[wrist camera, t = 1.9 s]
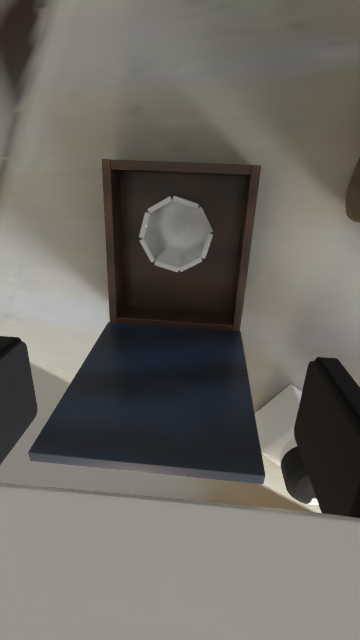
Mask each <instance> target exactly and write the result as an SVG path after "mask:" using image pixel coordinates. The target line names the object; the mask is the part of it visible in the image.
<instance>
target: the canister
mask: <svg viewBox="0 0 360 640" xmlns="http://www.w3.org/2000/svg"><path fill="white" fill-rule="evenodd" d="M346 213H347V216H348V217H349V218H350V219H351V220H353V221H355V222H359V223H360V160H359V162H358V165H357V167H356V170H355V172H354V175H353V177H352V180H351V182H350V185H349V188H348V193H347V198H346Z"/></svg>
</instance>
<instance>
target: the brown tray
mask: <svg viewBox="0 0 360 640" xmlns="http://www.w3.org/2000/svg"><path fill="white" fill-rule="evenodd" d="M260 168H261V166H260V165H234V164H209V163H184V162H159V161H133V160H108V159H102V171H103V191H104V211H105V231H106V251H107V272H108V292H109V312H110V322H116V323H130V324H144V325H158V326H172V327H186V328H200V329H214V330H228V331H240V326H241V318H242V310H243V302H244V294H245V286H246V278H247V271H248V263H249V255H250V247H251V239H252V231H253V223H254V216H255V208H256V200H257V192H258V184H259V176H260ZM174 195H181V196H184V197H187V198H190V199H193V200H196V201H199V202H200V205H202V204H203V206H204V208H205V210H206V212H207V214H208V217H209V219H210V221H211V223H212V226H213V237H212V240H211V243H210V246H209V249H208V252H207V255H206V257H205V259H203V261H202V262H201V263H199V264H197V265H195V266H193V267H191V268H189V269H187V270H185V271H183V272H180V271H179V270H178V272H177V273H176V272H173V271H170V270H167V269H164V268H161V267H158V266H155V265H154V263H155V262H153V263H151V261H150V259H149V258H148V256H147V254H146V252H145V250H144V249H143V247H142V245H141V243H140V240H141V239H142V238H139V234H140V230H141V226H142V222H143V218H144V214H145V212H147V211H148V210H147V209H148V208H150V207H151V206H153V205H155V204H157V203H158V202H160V201H162V200H164V199H166V198H167V197H169V196H174ZM200 205H199V206H200Z"/></svg>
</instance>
